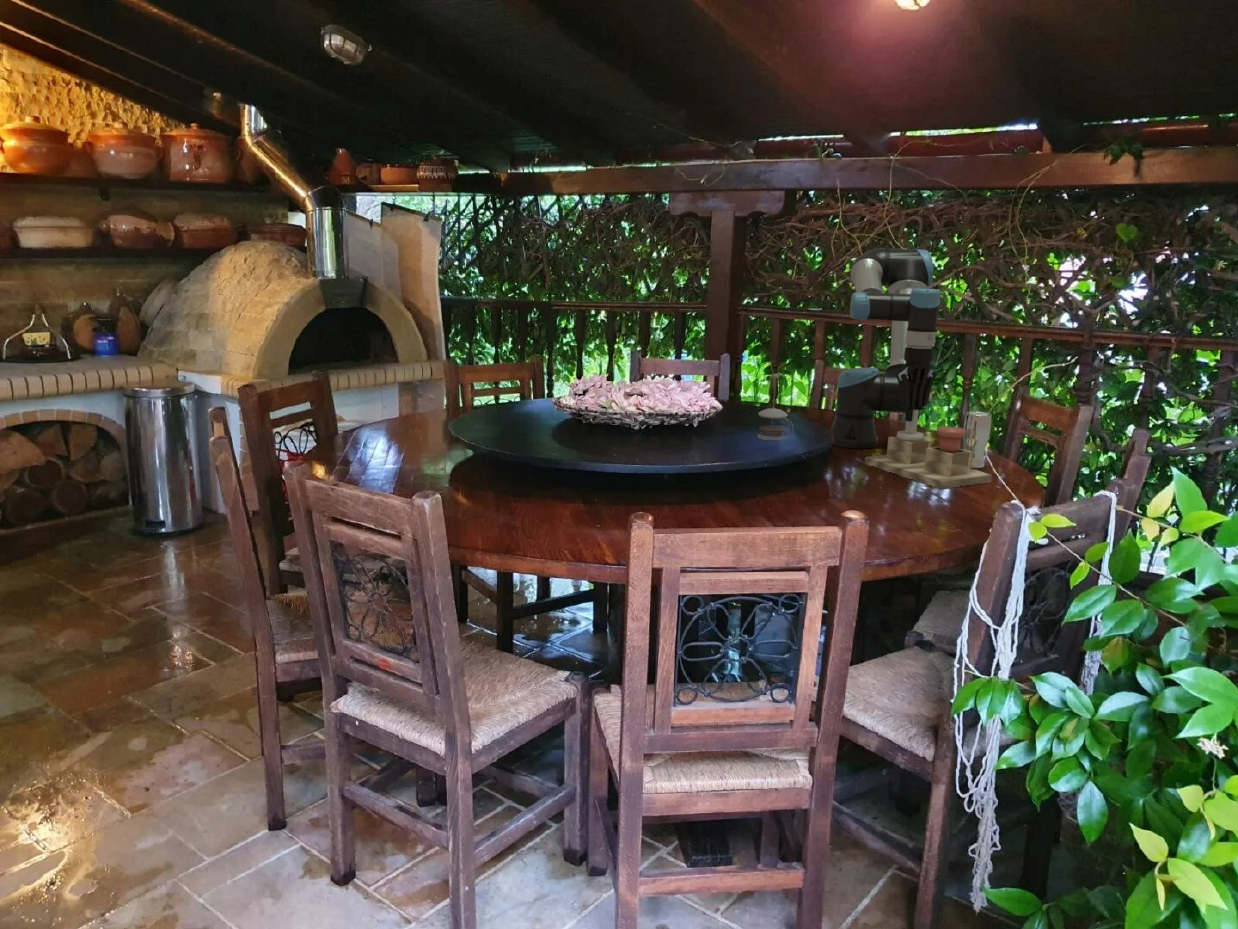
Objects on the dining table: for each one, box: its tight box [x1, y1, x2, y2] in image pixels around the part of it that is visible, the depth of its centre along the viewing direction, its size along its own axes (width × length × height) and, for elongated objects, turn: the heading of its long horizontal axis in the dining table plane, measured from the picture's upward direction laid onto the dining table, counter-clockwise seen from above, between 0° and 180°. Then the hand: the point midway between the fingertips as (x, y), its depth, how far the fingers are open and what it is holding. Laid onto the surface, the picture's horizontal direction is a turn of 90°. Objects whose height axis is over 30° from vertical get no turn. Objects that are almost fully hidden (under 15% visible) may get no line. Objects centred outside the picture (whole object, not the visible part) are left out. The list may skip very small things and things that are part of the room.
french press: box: [757, 373, 794, 441], centre depth 244 cm, size 10×12×25 cm
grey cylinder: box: [896, 430, 925, 442], centre depth 244 cm, size 7×7×7 cm
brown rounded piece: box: [936, 426, 966, 453], centre depth 231 cm, size 7×7×7 cm
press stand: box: [864, 435, 993, 490], centre depth 238 cm, size 28×18×8 cm, turn 27°
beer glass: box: [963, 410, 992, 469], centre depth 247 cm, size 7×7×15 cm
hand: (910, 432), depth 243 cm, fingers closed
